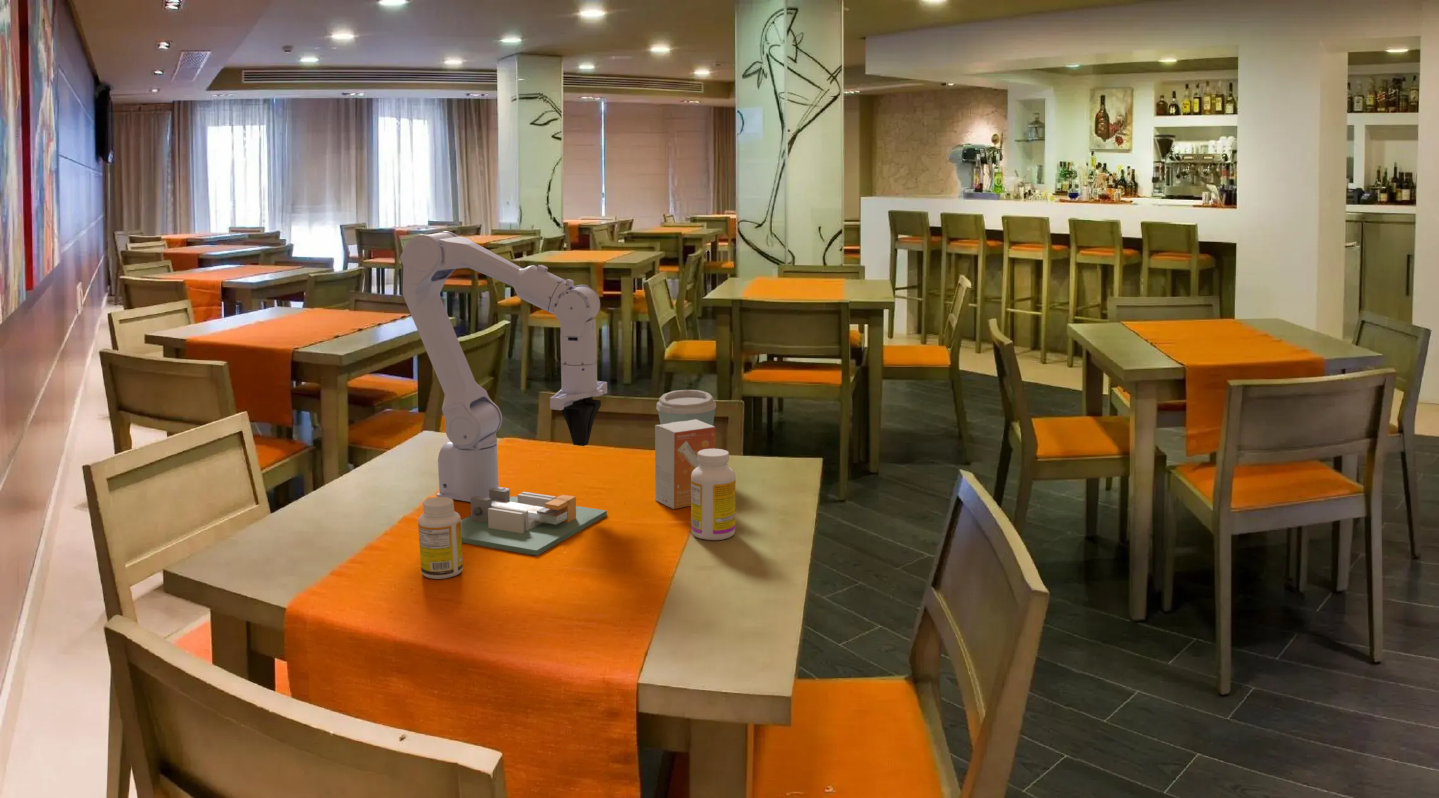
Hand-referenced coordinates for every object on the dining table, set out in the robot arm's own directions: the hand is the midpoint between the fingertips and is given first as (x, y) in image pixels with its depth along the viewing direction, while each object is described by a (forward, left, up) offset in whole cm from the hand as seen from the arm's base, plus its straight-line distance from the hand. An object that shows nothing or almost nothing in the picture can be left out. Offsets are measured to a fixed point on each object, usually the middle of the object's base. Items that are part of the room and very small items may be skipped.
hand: (580, 444), depth 176 cm
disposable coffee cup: (+9, +21, -10) cm, 25 cm away
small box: (+15, +8, -10) cm, 20 cm away
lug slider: (+3, -12, -9) cm, 15 cm away
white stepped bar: (-2, -14, -8) cm, 16 cm away
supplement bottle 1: (-1, -35, -10) cm, 36 cm away
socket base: (-2, -14, -10) cm, 17 cm away
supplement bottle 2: (+26, -5, -10) cm, 28 cm away
